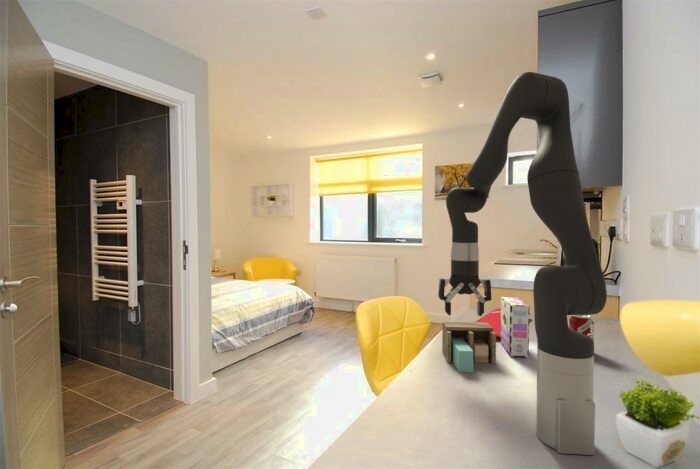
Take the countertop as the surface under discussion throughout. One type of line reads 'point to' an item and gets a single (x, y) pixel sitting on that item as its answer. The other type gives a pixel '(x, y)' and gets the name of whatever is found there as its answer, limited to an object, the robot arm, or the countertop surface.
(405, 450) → the countertop surface
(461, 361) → the block
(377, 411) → the countertop surface
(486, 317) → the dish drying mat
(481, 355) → the oak offcut
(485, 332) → the shelf
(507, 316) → the candy box
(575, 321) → the soda can
